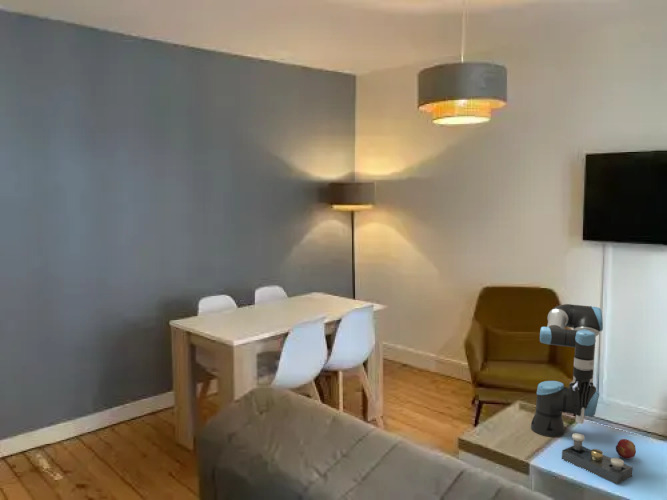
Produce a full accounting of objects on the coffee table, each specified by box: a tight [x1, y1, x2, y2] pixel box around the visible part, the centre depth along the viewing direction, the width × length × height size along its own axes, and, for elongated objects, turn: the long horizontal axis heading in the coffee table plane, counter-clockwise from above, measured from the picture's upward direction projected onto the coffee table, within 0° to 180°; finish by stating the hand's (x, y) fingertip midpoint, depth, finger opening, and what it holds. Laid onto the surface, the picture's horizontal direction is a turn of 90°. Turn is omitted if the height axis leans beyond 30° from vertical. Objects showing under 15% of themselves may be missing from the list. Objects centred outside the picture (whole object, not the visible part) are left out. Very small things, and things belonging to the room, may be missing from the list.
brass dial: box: [590, 448, 604, 461], centre depth 226 cm, size 4×4×3 cm
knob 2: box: [610, 457, 625, 471], centre depth 219 cm, size 5×5×6 cm
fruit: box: [615, 438, 637, 460], centre depth 235 cm, size 8×8×8 cm
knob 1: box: [572, 432, 585, 451], centre depth 233 cm, size 5×5×6 cm
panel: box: [561, 445, 634, 485], centre depth 226 cm, size 24×11×4 cm, turn 34°
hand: (579, 422), depth 231 cm, fingers closed
